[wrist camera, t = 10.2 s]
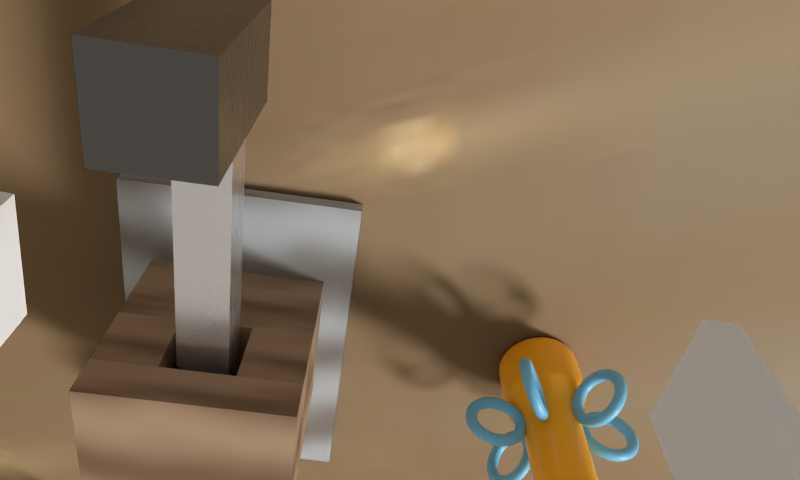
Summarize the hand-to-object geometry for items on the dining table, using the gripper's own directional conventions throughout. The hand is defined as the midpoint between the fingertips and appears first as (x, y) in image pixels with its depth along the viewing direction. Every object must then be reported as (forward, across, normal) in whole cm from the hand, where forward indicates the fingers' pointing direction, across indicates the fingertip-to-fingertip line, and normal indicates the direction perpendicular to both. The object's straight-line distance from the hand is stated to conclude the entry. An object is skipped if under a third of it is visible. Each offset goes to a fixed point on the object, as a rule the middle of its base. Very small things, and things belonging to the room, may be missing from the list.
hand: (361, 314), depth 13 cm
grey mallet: (+22, -8, -13) cm, 27 cm away
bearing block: (+29, -7, -26) cm, 40 cm away
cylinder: (+30, +16, -25) cm, 42 cm away
